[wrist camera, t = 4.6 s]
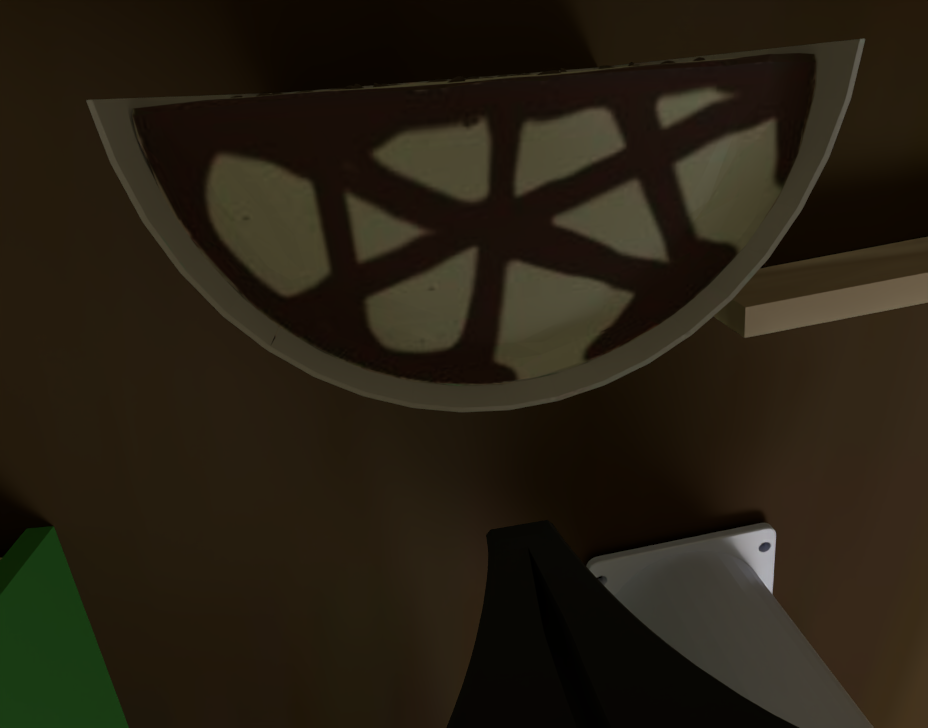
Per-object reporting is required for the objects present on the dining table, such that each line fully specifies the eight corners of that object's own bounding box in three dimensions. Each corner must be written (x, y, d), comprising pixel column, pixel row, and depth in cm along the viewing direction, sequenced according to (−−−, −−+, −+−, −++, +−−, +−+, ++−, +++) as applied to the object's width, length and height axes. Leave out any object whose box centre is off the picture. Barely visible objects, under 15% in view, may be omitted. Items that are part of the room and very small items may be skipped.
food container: (268, 303, 20) (166, 480, 11) (224, 97, 18) (44, 103, 8) (638, 265, 21) (829, 399, 12) (647, 63, 18) (900, 35, 9)
